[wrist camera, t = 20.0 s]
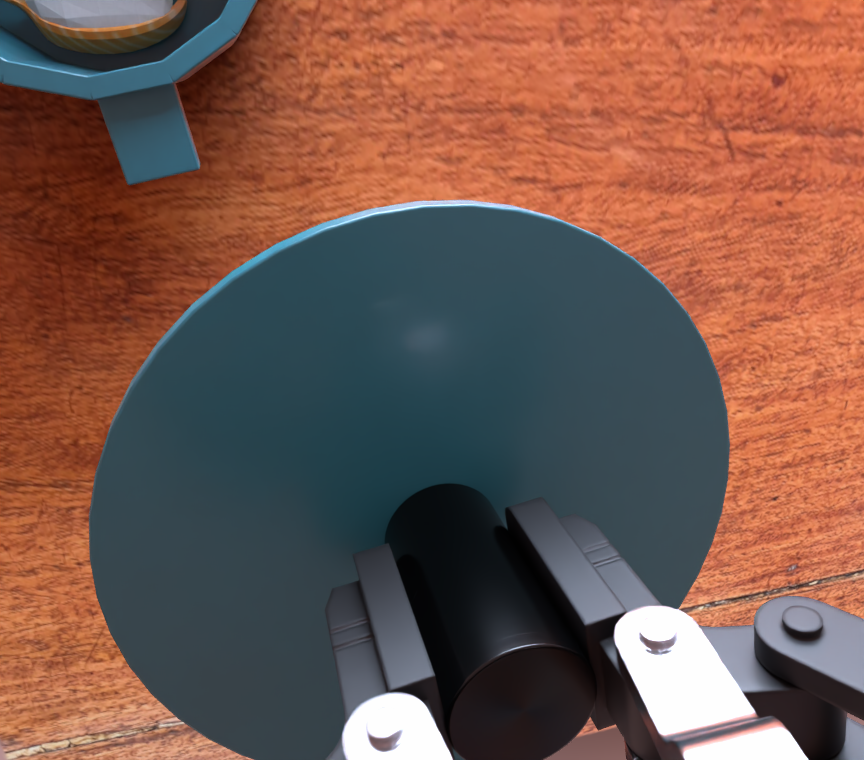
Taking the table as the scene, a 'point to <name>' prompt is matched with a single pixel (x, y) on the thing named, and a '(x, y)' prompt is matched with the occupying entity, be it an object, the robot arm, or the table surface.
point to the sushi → (104, 22)
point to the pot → (128, 81)
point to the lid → (401, 469)
